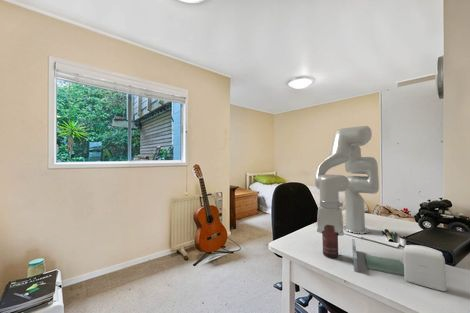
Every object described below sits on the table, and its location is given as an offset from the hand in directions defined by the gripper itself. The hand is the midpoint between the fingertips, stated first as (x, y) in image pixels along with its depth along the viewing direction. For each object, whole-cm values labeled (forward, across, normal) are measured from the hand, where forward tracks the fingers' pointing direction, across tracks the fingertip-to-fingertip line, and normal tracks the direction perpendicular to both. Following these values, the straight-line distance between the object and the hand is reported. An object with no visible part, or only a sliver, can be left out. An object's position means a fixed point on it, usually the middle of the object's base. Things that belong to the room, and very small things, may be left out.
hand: (330, 247), depth 90 cm
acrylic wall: (+4, -9, 0) cm, 10 cm away
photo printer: (+4, -28, +9) cm, 30 cm away
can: (+4, 0, 0) cm, 4 cm away
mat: (+4, -19, 0) cm, 19 cm away
